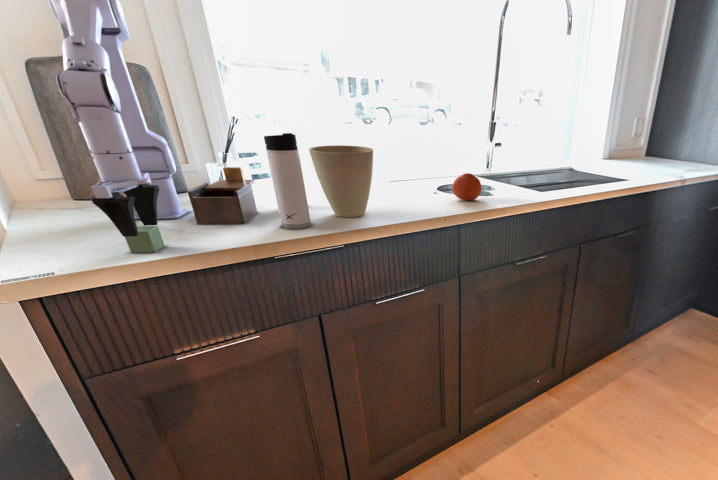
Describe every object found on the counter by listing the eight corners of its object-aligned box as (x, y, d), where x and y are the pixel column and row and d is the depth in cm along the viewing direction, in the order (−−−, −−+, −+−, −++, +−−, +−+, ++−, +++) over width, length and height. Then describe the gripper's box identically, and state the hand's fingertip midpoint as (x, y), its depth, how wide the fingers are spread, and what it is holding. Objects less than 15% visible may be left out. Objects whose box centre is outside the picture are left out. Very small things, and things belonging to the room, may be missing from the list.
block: (131, 253, 80) (122, 232, 78) (141, 246, 83) (133, 226, 81) (155, 252, 80) (147, 231, 78) (164, 246, 84) (157, 225, 82)
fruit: (467, 195, 139) (467, 169, 135) (486, 200, 134) (487, 173, 130) (446, 199, 133) (446, 172, 129) (465, 204, 128) (465, 176, 124)
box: (197, 224, 98) (187, 191, 94) (214, 213, 107) (205, 182, 104) (245, 223, 100) (237, 191, 96) (257, 212, 109) (250, 183, 106)
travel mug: (294, 231, 96) (275, 134, 86) (276, 226, 99) (256, 131, 89) (317, 225, 101) (302, 133, 91) (300, 221, 104) (283, 130, 94)
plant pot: (309, 212, 111) (297, 146, 103) (360, 205, 121) (353, 144, 113) (338, 224, 102) (328, 153, 95) (390, 215, 112) (385, 150, 104)
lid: (204, 190, 101) (200, 173, 99) (220, 182, 110) (216, 166, 108) (242, 190, 103) (238, 173, 101) (255, 182, 112) (251, 166, 110)
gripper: (116, 157, 68) (146, 240, 74) (158, 148, 80) (181, 220, 87) (63, 156, 66) (99, 241, 73) (114, 147, 79) (141, 220, 85)
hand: (141, 230), depth 80 cm, fingers open, 7 cm apart
